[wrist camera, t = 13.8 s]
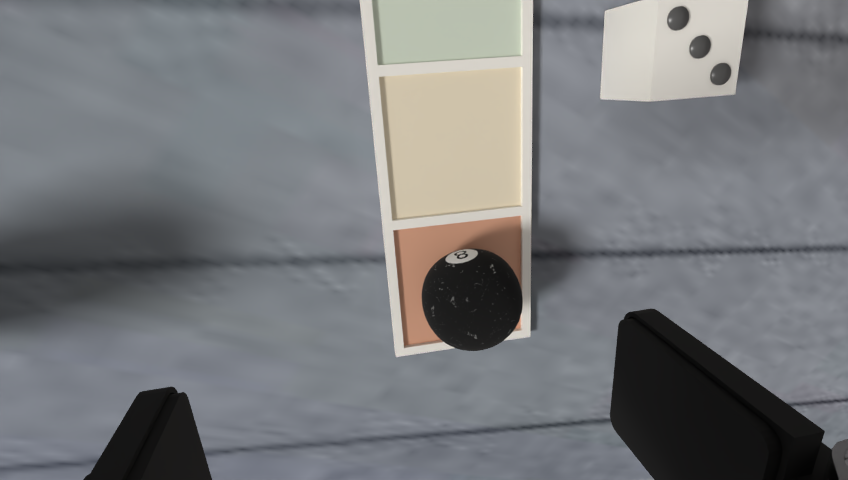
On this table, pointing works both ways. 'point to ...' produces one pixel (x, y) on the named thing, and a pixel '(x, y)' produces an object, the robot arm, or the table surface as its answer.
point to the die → (672, 49)
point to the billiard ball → (472, 299)
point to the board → (450, 143)
